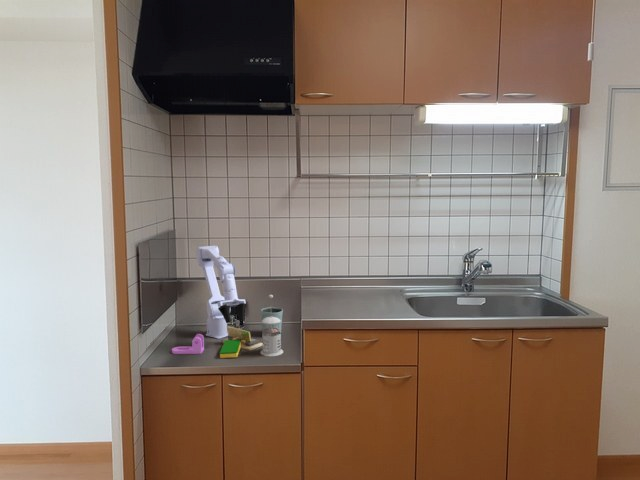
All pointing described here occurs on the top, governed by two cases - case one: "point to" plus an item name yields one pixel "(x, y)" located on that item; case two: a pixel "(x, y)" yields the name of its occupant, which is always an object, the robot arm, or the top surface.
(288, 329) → the top surface
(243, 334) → the strip
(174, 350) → the bracket
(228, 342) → the dish sponge
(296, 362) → the top surface
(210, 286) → the robot arm
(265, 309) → the drinking glass
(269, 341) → the french press
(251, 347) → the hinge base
